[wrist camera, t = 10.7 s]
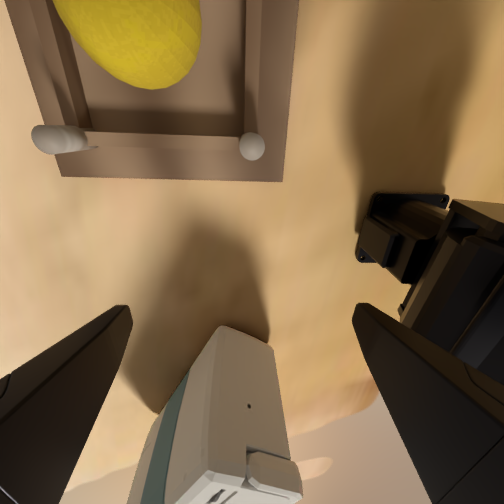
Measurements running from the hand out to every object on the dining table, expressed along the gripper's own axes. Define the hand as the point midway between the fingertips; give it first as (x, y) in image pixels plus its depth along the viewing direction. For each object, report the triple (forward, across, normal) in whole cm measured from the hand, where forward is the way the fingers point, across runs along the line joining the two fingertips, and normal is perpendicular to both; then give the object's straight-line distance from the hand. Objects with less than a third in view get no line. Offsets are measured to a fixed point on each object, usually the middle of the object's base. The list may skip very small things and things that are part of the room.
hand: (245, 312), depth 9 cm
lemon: (+11, +5, -11) cm, 16 cm away
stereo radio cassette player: (+12, +4, +22) cm, 26 cm away
